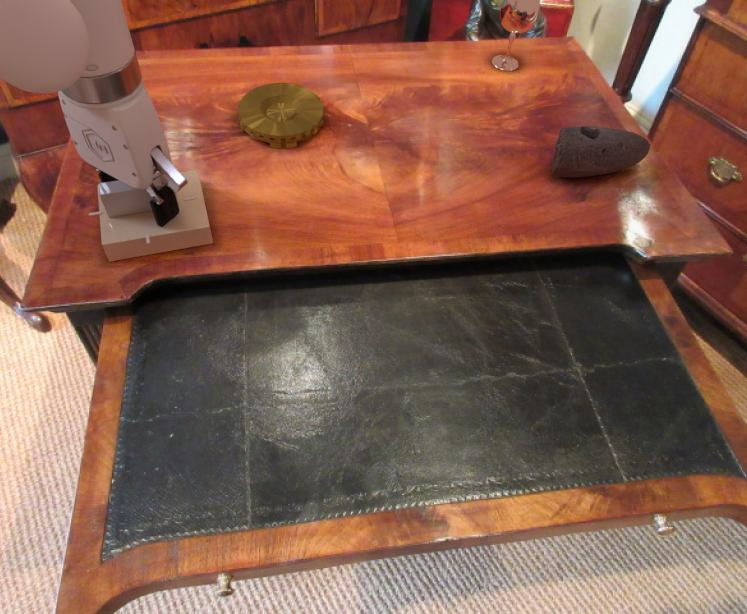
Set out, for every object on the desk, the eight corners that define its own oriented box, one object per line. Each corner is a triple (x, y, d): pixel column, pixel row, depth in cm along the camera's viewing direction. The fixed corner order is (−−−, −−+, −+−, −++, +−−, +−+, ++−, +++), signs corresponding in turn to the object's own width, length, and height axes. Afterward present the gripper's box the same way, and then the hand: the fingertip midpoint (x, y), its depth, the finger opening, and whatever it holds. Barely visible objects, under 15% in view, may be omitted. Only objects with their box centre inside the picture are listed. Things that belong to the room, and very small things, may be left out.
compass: (340, 118, 88) (340, 106, 87) (286, 160, 82) (285, 147, 81) (278, 85, 92) (277, 72, 90) (222, 123, 86) (220, 110, 84)
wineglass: (513, 51, 102) (533, -22, 92) (528, 70, 99) (551, -2, 89) (482, 55, 101) (499, -18, 91) (496, 75, 97) (516, 1, 88)
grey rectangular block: (108, 217, 70) (98, 193, 67) (107, 205, 71) (97, 181, 68) (179, 206, 72) (172, 182, 69) (177, 194, 73) (170, 170, 70)
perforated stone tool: (632, 156, 88) (653, 116, 82) (646, 181, 85) (669, 141, 79) (534, 160, 86) (549, 119, 80) (546, 186, 83) (562, 145, 77)
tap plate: (99, 270, 69) (91, 253, 67) (94, 197, 76) (86, 178, 73) (214, 250, 72) (210, 232, 70) (200, 181, 79) (196, 162, 76)
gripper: (1, 57, 57) (66, 194, 72) (138, 127, 53) (178, 257, 67) (63, 23, 61) (113, 159, 76) (196, 85, 57) (222, 217, 71)
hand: (143, 204), depth 71 cm, fingers open, 7 cm apart
